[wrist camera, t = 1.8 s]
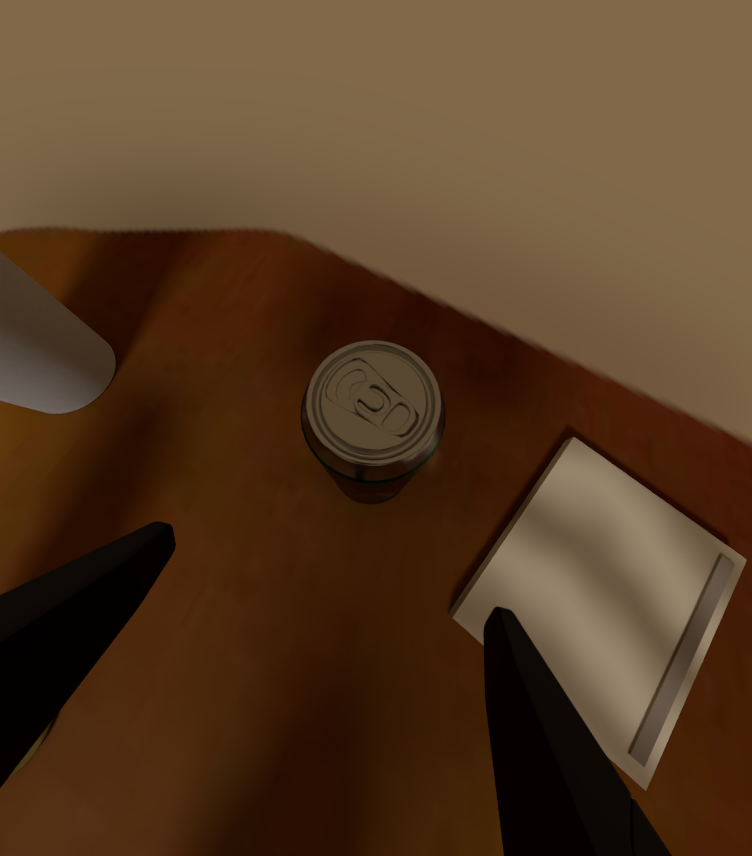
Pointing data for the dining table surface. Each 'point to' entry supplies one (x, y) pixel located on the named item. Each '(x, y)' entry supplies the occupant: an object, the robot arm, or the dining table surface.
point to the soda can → (372, 418)
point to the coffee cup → (47, 349)
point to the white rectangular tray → (608, 599)
